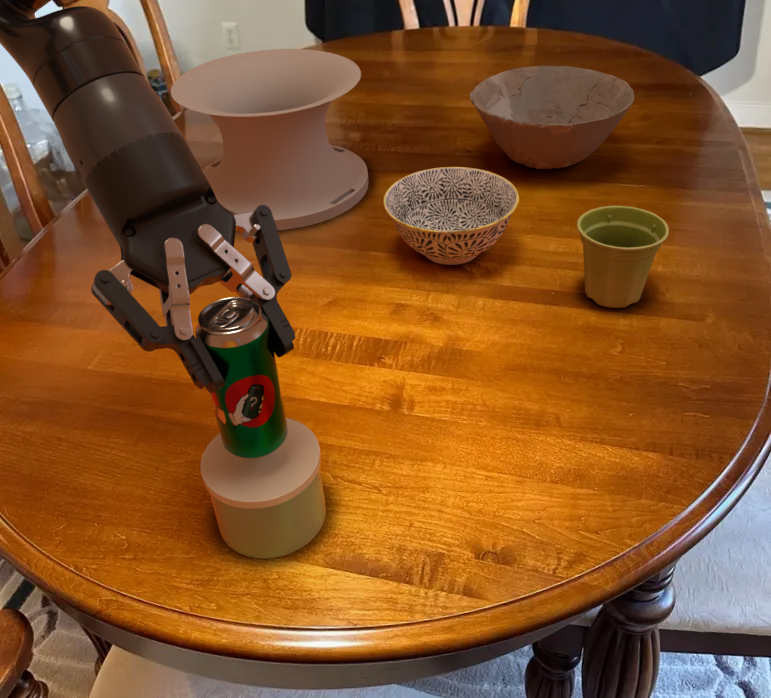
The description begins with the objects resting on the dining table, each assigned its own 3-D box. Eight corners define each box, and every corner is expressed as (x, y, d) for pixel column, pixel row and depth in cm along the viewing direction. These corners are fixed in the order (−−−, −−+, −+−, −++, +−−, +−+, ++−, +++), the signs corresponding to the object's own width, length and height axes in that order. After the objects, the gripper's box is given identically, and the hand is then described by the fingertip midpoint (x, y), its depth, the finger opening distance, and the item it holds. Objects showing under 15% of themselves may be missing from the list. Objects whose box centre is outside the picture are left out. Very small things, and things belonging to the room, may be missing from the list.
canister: (222, 573, 63) (206, 514, 58) (210, 487, 70) (195, 430, 66) (339, 544, 64) (331, 484, 60) (316, 463, 72) (307, 405, 67)
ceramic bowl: (647, 143, 121) (657, 77, 115) (588, 207, 106) (596, 136, 100) (514, 117, 131) (517, 56, 125) (443, 173, 116) (442, 106, 110)
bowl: (488, 298, 91) (489, 240, 86) (364, 270, 97) (359, 214, 92) (533, 232, 102) (537, 178, 97) (419, 210, 108) (418, 158, 103)
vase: (165, 224, 108) (137, 112, 99) (232, 147, 127) (214, 47, 118) (342, 237, 103) (331, 120, 94) (385, 154, 122) (380, 50, 113)
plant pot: (571, 268, 95) (578, 202, 89) (654, 274, 93) (666, 207, 87) (567, 313, 88) (575, 245, 82) (657, 321, 86) (671, 251, 80)
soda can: (301, 429, 63) (281, 304, 55) (262, 472, 59) (234, 345, 52) (250, 409, 65) (224, 286, 57) (209, 449, 61) (176, 324, 54)
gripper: (35, 168, 49) (172, 409, 49) (234, 102, 56) (354, 313, 56) (31, 215, 56) (151, 428, 56) (210, 151, 62) (317, 340, 63)
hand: (253, 369), depth 56 cm, fingers closed on soda can, 5 cm apart
